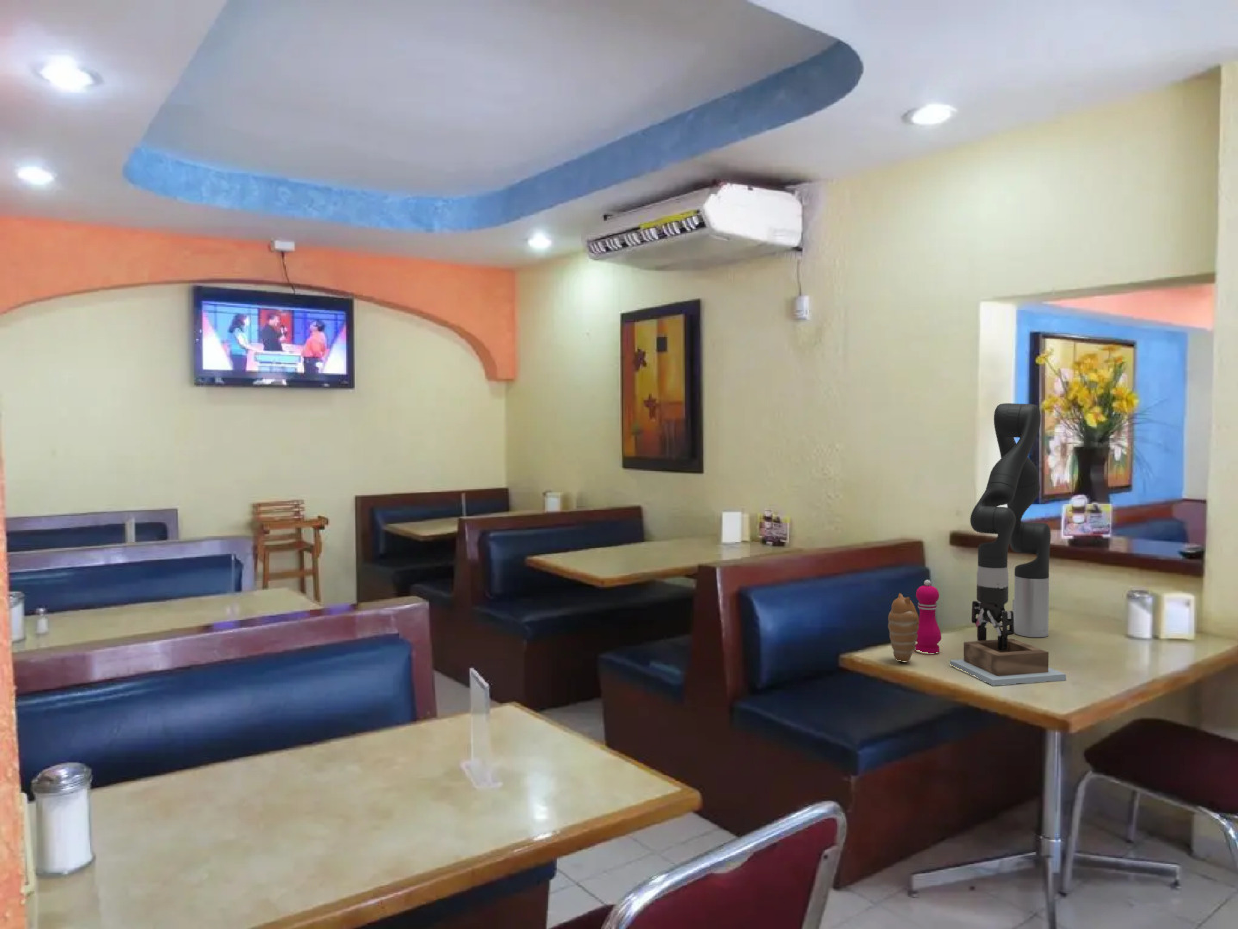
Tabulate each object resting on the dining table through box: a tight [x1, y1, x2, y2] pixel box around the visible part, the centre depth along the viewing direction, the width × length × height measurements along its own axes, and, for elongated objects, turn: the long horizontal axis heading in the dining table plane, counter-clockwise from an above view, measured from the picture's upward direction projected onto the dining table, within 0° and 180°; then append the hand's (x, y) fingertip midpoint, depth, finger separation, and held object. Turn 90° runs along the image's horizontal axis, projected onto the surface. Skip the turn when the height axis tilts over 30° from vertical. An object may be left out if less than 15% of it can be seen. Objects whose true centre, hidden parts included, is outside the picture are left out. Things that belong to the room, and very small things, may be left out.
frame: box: [963, 638, 1050, 676], centre depth 219 cm, size 14×14×5 cm
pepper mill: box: [914, 579, 942, 653], centre depth 239 cm, size 7×7×20 cm
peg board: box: [949, 658, 1067, 687], centre depth 219 cm, size 18×20×4 cm
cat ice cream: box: [887, 592, 919, 662], centre depth 229 cm, size 9×8×18 cm
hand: (992, 645), depth 224 cm, fingers open, 8 cm apart
